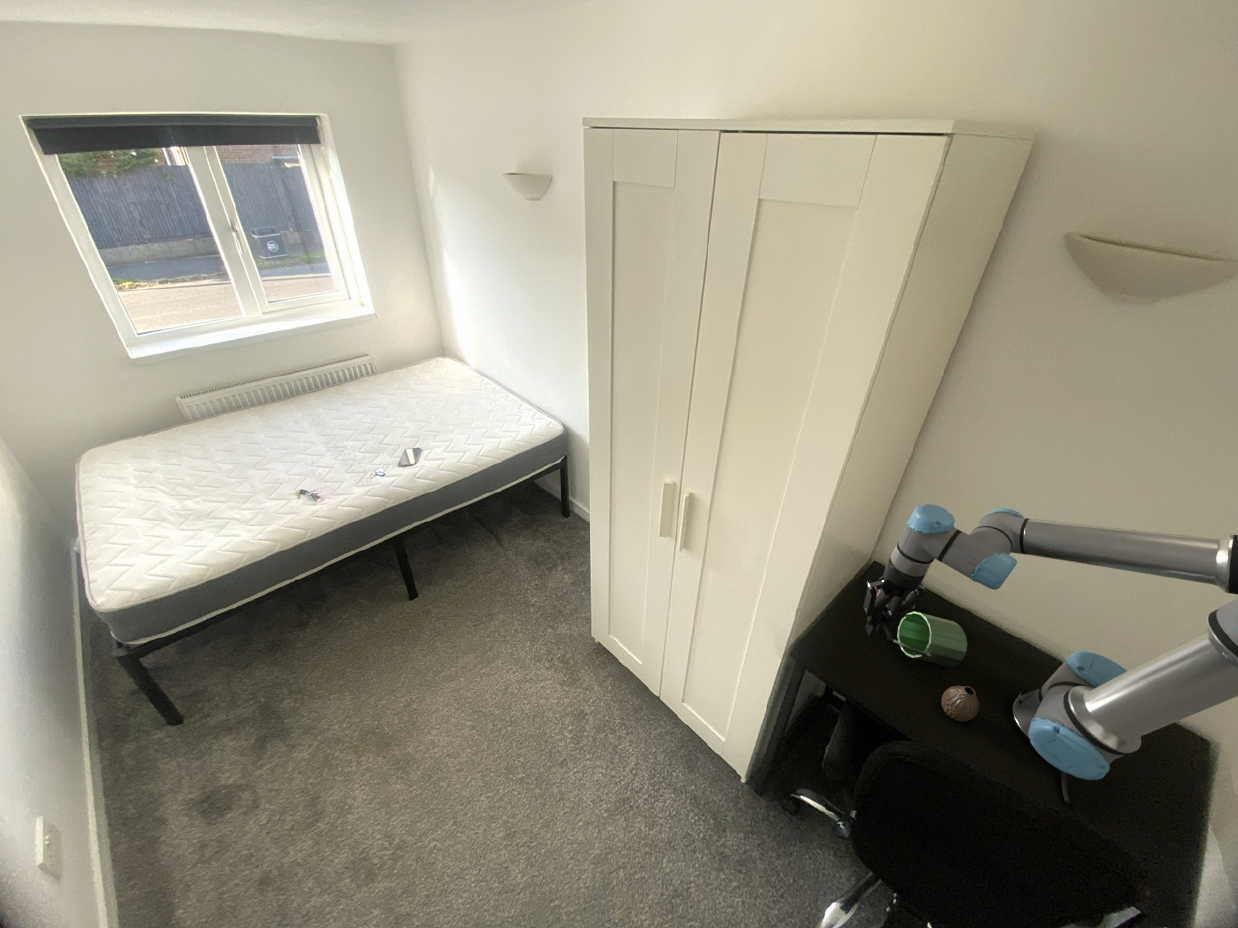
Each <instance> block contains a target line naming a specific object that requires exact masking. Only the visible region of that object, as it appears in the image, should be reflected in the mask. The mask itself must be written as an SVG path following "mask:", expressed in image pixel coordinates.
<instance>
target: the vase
mask: <svg viewBox="0 0 1238 928" xmlns="http://www.w3.org/2000/svg"><path fill="white" fill-rule="evenodd" d="M940 701H941V702H940V703H941V707H942V710H943V712H944V713H945V714H946V715H947V716H948V717H949V718H950V719H952V720H954V721H957V722H961V723H965V722H969V721H971V720H973V719H974V718H975V717H976V716H977V715H978V713H979V711H980V701H979V699H978V696H977V692H976V691H975V689H974V688H973V687H971V686H970V685H964V686H963V685H953V686H950V687H948V688H947V689H945V691H944V692H943V694H942V696H941V700H940Z"/></svg>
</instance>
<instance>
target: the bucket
mask: <svg viewBox="0 0 1238 928" xmlns="http://www.w3.org/2000/svg"><path fill="white" fill-rule="evenodd" d="M888 607H889V605H886V607H885V608H887V609H888ZM880 618H881V620H880V622H879V625H880V627H881V629H882V631H883V635H884V638H885V640H886V642H887V643H890V644H893V643H894V644H896V645H899V647H900V651H902V652H903V654H905V655H906V657H909V658H912V659H916V660H920V661H924V662H929V663H933V664H936V665H941V666H945V667H954V666H957V665H958V664H960V663H961V662H962V661H963V659H964V657H965V656H966V654H967V650H968V649H967V648H968V641H967V635H966V633H965V631H964V630H963V628H962V626H961V625H960V624H958V623H957V622H955V621H953V620H950V619H946V618H941V617H938V616H934V615H930V614H926V613H923V612H919V611H911V612H908V613H907V615H906V616H905V617H904V618H901V620H900V621H899V624H898V626H897V635H896V637H897V640H896V639H895V637H894V636H893V633H892V631H891V629H890V626H888V625H887V623H886V621H885V619H884V617H883V615H882V613H881V614H880Z"/></svg>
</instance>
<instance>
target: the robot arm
mask: <svg viewBox="0 0 1238 928" xmlns="http://www.w3.org/2000/svg"><path fill="white" fill-rule="evenodd" d="M955 520H956V519H955V516H954V515H953V514H952V513H951V512H949V511H948V510H947V509H946V508H944V507H942V506H940V505H937V504H933V503H924V504H920V505H917V506H916V507H915V508H914V510H913V512H912V513H911V515H910V517H909V519H907V521H906V524H905V526H904V529H903V530H902V533H901V535H900V537H899V539H898V541H897V543H896V545H895V547H894V549H893V551H892V554H891V556H890V557H889V559H888V561H887V563H886V565H885V567H884V571H883V575H881V577H879V580H878V581H873V582H872V580H867V581H865V582H866V587H867V590H866V592H865V593H866V594H865V597H864V602H863V607H862V608H863V610H864V612H865V614H866V616H867V617H866V624H865V626H864V628H865V630H866V632H867V635H868V637H873V636H874V634H875V633H876V634H877V636H878V637H879V638H883V635H884V634H883V631H882V629H881V627H880V625H879V622H880V620H881V618H880V614H881V613H882V615H883V617H884V619H885V621H886V623H887V625H888V627H890V626H891V625H892V624H893V623H897V622H898V618H900V619H902V618H904V617H905V616H906V615H907V614H908V613H910V611H911V610H913V609H912V607H913V606H914V605H915V606H916V604H917V603H918V602H919V600H920V599H921V598H923V597H924V596H927V594H928V591H927V590H926V588H925V586H924V585H923V581H924V579H925V577H926V576H927V574H928V572H929V570H930V568H931V566H932V564H933V563H934V562H935V561H934V560H936V561H938V562H940V563H942V564H943V565H946V566H947V567H949V568H951V569H952V570H955V571H956V572H958V573H960V574H961V575H963V576H964V577H967V579H969V580H971V581H972V582H975V583H979V584H980V585H982V586H985V587H986V588H987V589H991V590H995V591H996V590H999V589H1001V588H1002V586H1003V584H1004V583H1005V582H1006V580H1007V579H1008V577H1009V576H1010V574H1011V573H1012V571H1013V570H1014V569H1015V567H1016V566H1017V564H1018V561H1017V559H1016V558H1015V557H1013V556H1012V555H1010V554H1019V555H1025V556H1032V557H1038V558H1043V559H1050V560H1055V561H1056V560H1057V561H1063V562H1069V563H1076V564H1077V563H1078V564H1081V565H1088V566H1094V567H1095V566H1096V567H1100V568H1108V569H1112V570H1121V571H1126V572H1132V573H1139V574H1145V575H1150V576H1157V577H1163V578H1169V579H1176V580H1181V581H1182V580H1183V581H1188V582H1195V583H1200V584H1201V583H1202V584H1207V585H1214V586H1216V587H1218V588H1219V589H1220V590H1222V591H1223V592H1224V593H1225V594H1232V595H1237V596H1238V534H1233V533H1231V534H1229V535H1227V536H1225V537H1222V538H1211V537H1201V536H1192V535H1186V534H1185V535H1184V534H1175V533H1166V532H1156V531H1146V530H1138V529H1128V528H1121V527H1119V528H1118V527H1112V526H1111V527H1110V526H1102V525H1093V524H1084V523H1073V522H1065V521H1055V520H1046V519H1037V518H1027V517H1024V515H1023V514H1021V512H1019V511H1017V510H1014V509H1012V508H1008V507H999V508H994V509H993V510H990V511H989V512H988V513H987V514H985V515H984V516H983V517H982V518H980V521H978V523H977V525H976V526H975V527H974V528H973V530H972V531H971V532H970V533H969V534H968V533H966V532H964V531H962V530H960V529H959V528H957V527H955V522H956V521H955ZM879 589H880V590H881V592H880V593H879V595H878V597H877V593H878V592H879V591H878V590H879ZM889 601H891V602H890V604H889V607H888V608H887V610H885V608H886V605H887V604H888V602H889ZM1205 621H1206V627H1207V628H1206V629H1205V630H1202V631H1201V632H1198V633H1197V634H1195V635H1193V636H1191V637H1189V638H1187V639H1185V640H1184V641H1182V642H1179V643H1177V644H1175V645H1174V646H1172V647H1170V648H1169V649H1166V650H1165V651H1163V652H1161V653H1159V654H1157V655H1155V656H1153V657H1151V658H1149V659H1147V660H1146V661H1144V662H1141V663H1140V664H1138V665H1136V666H1134V667H1132V668H1131V669H1129V670H1126V669H1125V668H1124V667H1122V666H1121V665H1120V664H1118V663H1117V662H1116V661H1113V660H1112V659H1111V658H1108V657H1106V656H1104V655H1101V654H1098V653H1095V652H1092V651H1086V650H1077V651H1075V652H1073V653H1071V654H1070V655H1069V656H1067V657H1066V658H1065V659H1064V662H1063V663H1062V664H1061V665H1060V666H1059V667H1058V668H1057V669H1056V671H1055V672H1054V673H1053V674H1051V676H1050V677H1049V678H1048V680H1046V681H1045V683H1044V684H1043V685H1042V686H1041V687H1040V688H1038V689H1035V690H1033V691H1030V692H1026V693H1024V694H1022V692H1019V693H1018V695H1017V698H1015V700H1014V701H1013V702H1012V703H1011V706H1010V717H1011V720H1012V722H1013V725H1014V727H1015V729H1016V730H1017V732H1018V733H1019V734H1020V735H1021V737H1022V738H1023V739H1024V740H1025V741H1026V742H1027V743H1028V744H1029V745H1030V746H1031V747H1032V748H1033V749H1034V750H1035V751H1036V752H1037V754H1038V755H1040V756H1041V758H1043V759H1044V760H1045V761H1046V762H1047V763H1049V764H1050V765H1051V766H1053V767H1054V768H1056V769H1057V770H1059V771H1060V779H1061V780H1060V781H1061V790H1062V796H1063V798H1064V802H1065V803H1066V804H1071V798H1070V795H1069V790H1068V778H1067V775H1071V776H1073V777H1075V778H1077V779H1081V780H1086V781H1097V780H1101V779H1103V778H1104V777H1105V776H1106V775H1107V774H1108V773H1109V771H1110V770H1111V766H1110V764H1111V763H1112V762H1114V761H1115V760H1117V759H1120V758H1122V757H1124V756H1127V755H1130V754H1132V753H1134V752H1137V751H1138V750H1139V749H1140V748H1141V746H1142V737H1143V736H1145V735H1147V734H1150V733H1152V732H1154V731H1157V730H1160V729H1162V728H1164V727H1167V726H1170V725H1172V724H1174V723H1177V722H1179V721H1182V720H1184V719H1186V718H1189V717H1191V716H1193V715H1196V714H1199V713H1201V712H1203V711H1206V710H1208V709H1210V708H1212V707H1215V706H1217V705H1220V704H1222V703H1225V702H1228V701H1230V700H1232V699H1234V698H1238V597H1236V598H1235V599H1233V600H1231V601H1230V602H1227V603H1226V604H1224V605H1222V606H1220V607H1218V608H1217V609H1215V610H1213V611H1211V612H1209V613H1208V614H1207V616H1206V619H1205Z"/></svg>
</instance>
